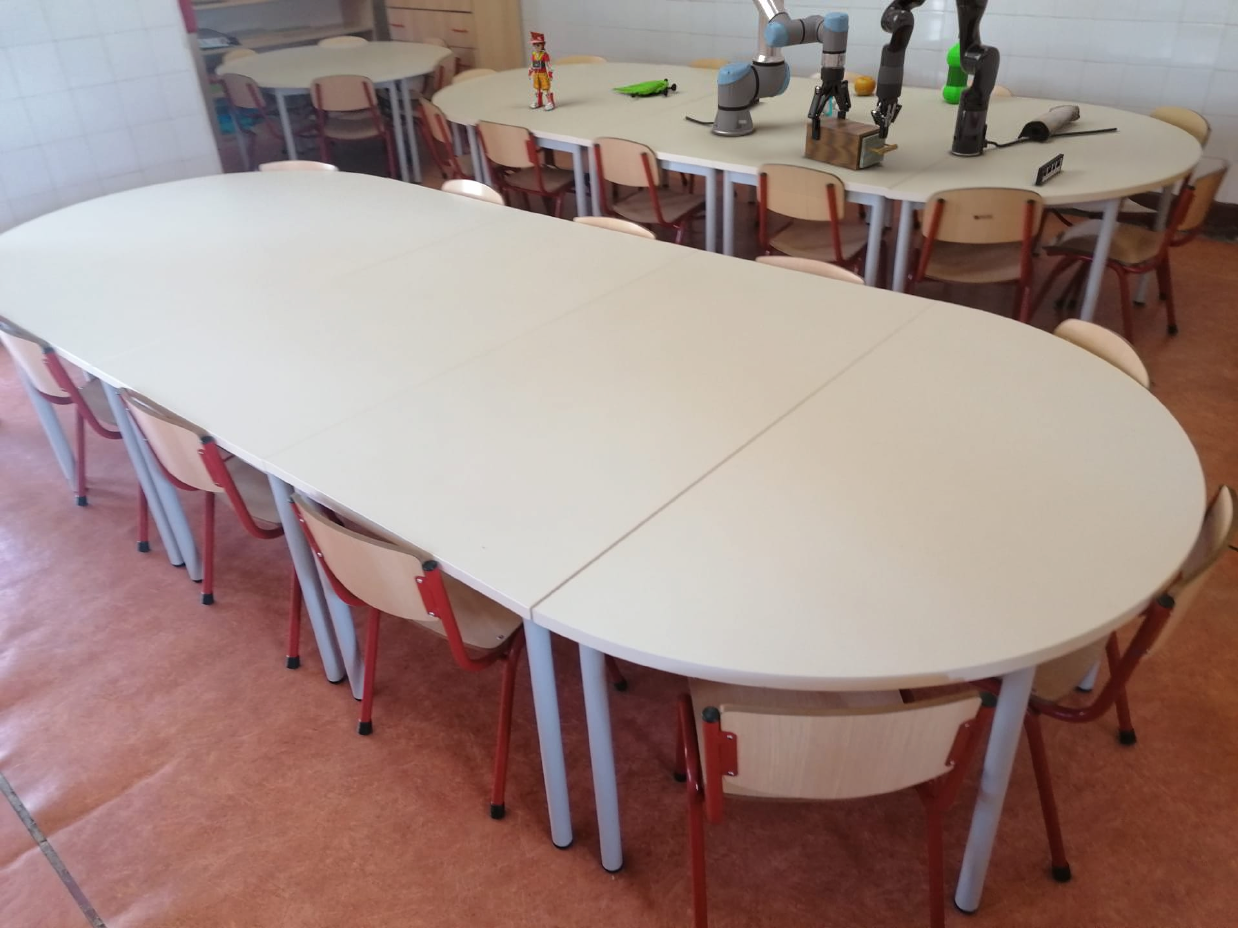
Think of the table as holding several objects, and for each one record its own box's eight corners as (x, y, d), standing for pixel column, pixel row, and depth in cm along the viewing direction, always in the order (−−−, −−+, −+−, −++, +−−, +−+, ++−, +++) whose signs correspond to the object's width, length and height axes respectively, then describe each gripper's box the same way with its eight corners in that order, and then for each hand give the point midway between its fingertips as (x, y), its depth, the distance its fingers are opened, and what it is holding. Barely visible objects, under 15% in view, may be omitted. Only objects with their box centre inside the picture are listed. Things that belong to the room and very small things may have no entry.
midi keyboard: (1039, 185, 269) (1043, 168, 266) (1035, 184, 270) (1038, 168, 267) (1060, 170, 279) (1064, 154, 277) (1056, 169, 280) (1060, 153, 277)
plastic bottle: (973, 101, 354) (984, 32, 339) (955, 106, 349) (966, 36, 335) (952, 97, 361) (962, 29, 346) (934, 102, 356) (944, 33, 342)
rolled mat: (1047, 110, 326) (1071, 92, 318) (1060, 131, 326) (1086, 114, 318) (1013, 133, 309) (1038, 115, 301) (1028, 155, 309) (1053, 137, 301)
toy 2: (686, 85, 398) (631, 84, 414) (685, 72, 395) (629, 72, 411) (651, 104, 381) (596, 103, 397) (650, 92, 378) (594, 91, 394)
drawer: (898, 164, 290) (901, 135, 285) (877, 171, 285) (880, 142, 280) (834, 149, 308) (836, 121, 303) (814, 155, 303) (816, 127, 298)
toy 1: (525, 109, 381) (517, 32, 364) (534, 104, 388) (527, 28, 371) (550, 110, 377) (543, 32, 360) (559, 105, 384) (553, 28, 367)
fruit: (849, 87, 368) (861, 69, 365) (851, 91, 376) (863, 73, 373) (866, 98, 367) (878, 80, 364) (868, 102, 375) (880, 84, 372)
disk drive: (744, 111, 360) (759, 102, 370) (744, 104, 358) (760, 95, 368) (721, 109, 365) (737, 100, 375) (721, 102, 363) (737, 93, 373)
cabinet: (878, 162, 297) (882, 127, 290) (855, 170, 291) (859, 134, 284) (827, 149, 311) (830, 116, 305) (804, 157, 305) (806, 123, 299)
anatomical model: (812, 91, 345) (837, 84, 345) (815, 118, 351) (840, 111, 351) (822, 101, 333) (849, 93, 332) (825, 128, 339) (851, 121, 338)
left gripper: (816, 74, 281) (812, 145, 293) (866, 61, 292) (859, 130, 305) (798, 71, 286) (794, 141, 298) (848, 59, 297) (842, 126, 310)
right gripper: (886, 85, 269) (879, 144, 279) (913, 78, 276) (905, 136, 285) (866, 82, 274) (860, 140, 284) (893, 75, 281) (886, 132, 290)
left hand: (827, 135), depth 301 cm, fingers closed on cabinet, 12 cm apart
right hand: (882, 138), depth 285 cm, fingers closed
